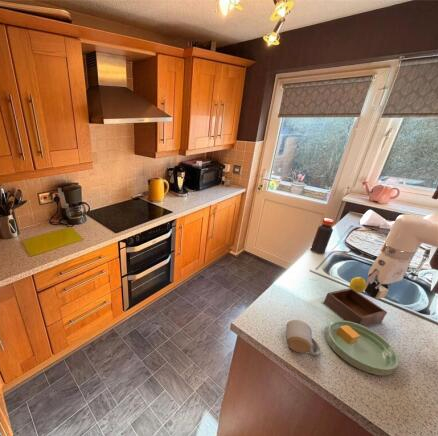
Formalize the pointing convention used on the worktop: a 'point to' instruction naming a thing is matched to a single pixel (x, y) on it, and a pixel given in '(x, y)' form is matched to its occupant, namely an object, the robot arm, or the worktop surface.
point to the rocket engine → (375, 220)
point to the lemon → (358, 284)
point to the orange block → (348, 334)
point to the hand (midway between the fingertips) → (374, 293)
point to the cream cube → (380, 292)
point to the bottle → (322, 236)
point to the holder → (354, 307)
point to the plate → (363, 349)
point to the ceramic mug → (300, 337)
